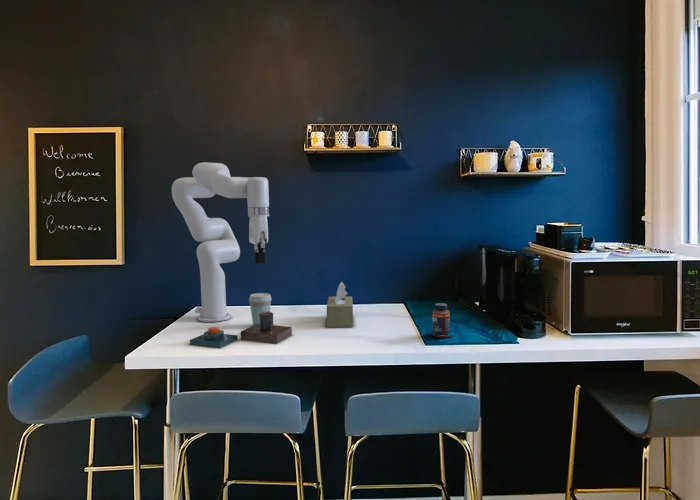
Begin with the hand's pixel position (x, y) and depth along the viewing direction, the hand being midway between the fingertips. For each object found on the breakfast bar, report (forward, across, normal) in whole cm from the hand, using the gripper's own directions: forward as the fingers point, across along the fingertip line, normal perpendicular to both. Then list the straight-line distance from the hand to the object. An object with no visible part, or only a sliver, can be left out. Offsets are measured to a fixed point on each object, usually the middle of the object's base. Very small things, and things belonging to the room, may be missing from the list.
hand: (260, 263), depth 182 cm
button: (+22, +7, -18) cm, 30 cm away
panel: (+25, +9, -1) cm, 27 cm away
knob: (+22, +9, -1) cm, 24 cm away
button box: (+25, +7, -18) cm, 32 cm away
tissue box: (+25, 0, +31) cm, 40 cm away
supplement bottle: (+25, +35, +54) cm, 69 cm away
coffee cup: (+25, -7, +1) cm, 26 cm away
